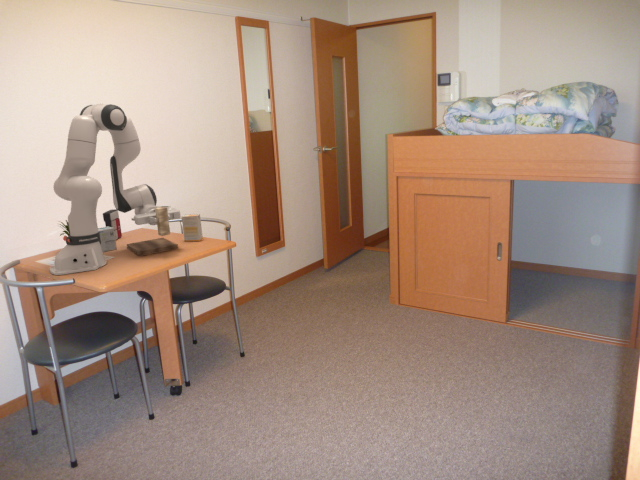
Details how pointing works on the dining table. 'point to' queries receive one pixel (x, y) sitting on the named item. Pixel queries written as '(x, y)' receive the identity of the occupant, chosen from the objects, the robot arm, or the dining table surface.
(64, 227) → the house plant
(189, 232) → the supplement box
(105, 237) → the light bulb box
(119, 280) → the dining table surface
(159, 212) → the beech block
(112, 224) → the packaged product box
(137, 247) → the walnut board
